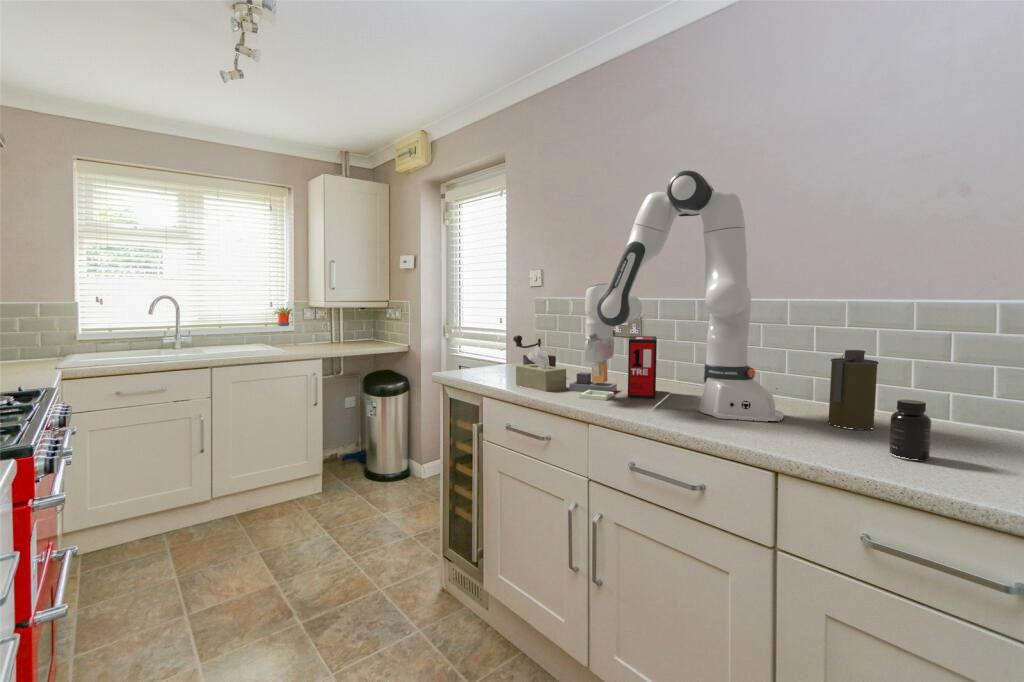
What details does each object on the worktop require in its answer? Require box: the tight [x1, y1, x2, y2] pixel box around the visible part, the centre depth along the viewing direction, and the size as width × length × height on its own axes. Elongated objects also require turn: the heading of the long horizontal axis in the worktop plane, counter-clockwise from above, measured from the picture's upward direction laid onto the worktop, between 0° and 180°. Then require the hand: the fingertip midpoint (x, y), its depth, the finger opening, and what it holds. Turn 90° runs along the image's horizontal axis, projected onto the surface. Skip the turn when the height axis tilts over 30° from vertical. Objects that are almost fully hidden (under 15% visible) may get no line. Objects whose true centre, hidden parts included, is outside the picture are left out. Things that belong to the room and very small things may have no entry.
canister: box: [827, 349, 880, 429], centre depth 135 cm, size 11×10×20 cm
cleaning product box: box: [627, 335, 658, 400], centre depth 177 cm, size 16×9×20 cm, turn 165°
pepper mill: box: [512, 334, 557, 367], centre depth 216 cm, size 16×11×18 cm
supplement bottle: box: [888, 399, 932, 461], centre depth 109 cm, size 7×7×12 cm
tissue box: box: [515, 346, 567, 392], centre depth 191 cm, size 19×10×16 cm, turn 36°
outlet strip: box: [568, 380, 618, 393], centre depth 183 cm, size 15×8×3 cm, turn 62°
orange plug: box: [591, 363, 608, 383], centre depth 171 cm, size 4×4×6 cm
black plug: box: [576, 371, 592, 385], centre depth 185 cm, size 4×4×6 cm
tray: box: [579, 390, 615, 401], centre depth 172 cm, size 9×9×2 cm
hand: (599, 374), depth 171 cm, fingers closed on orange plug, 4 cm apart
